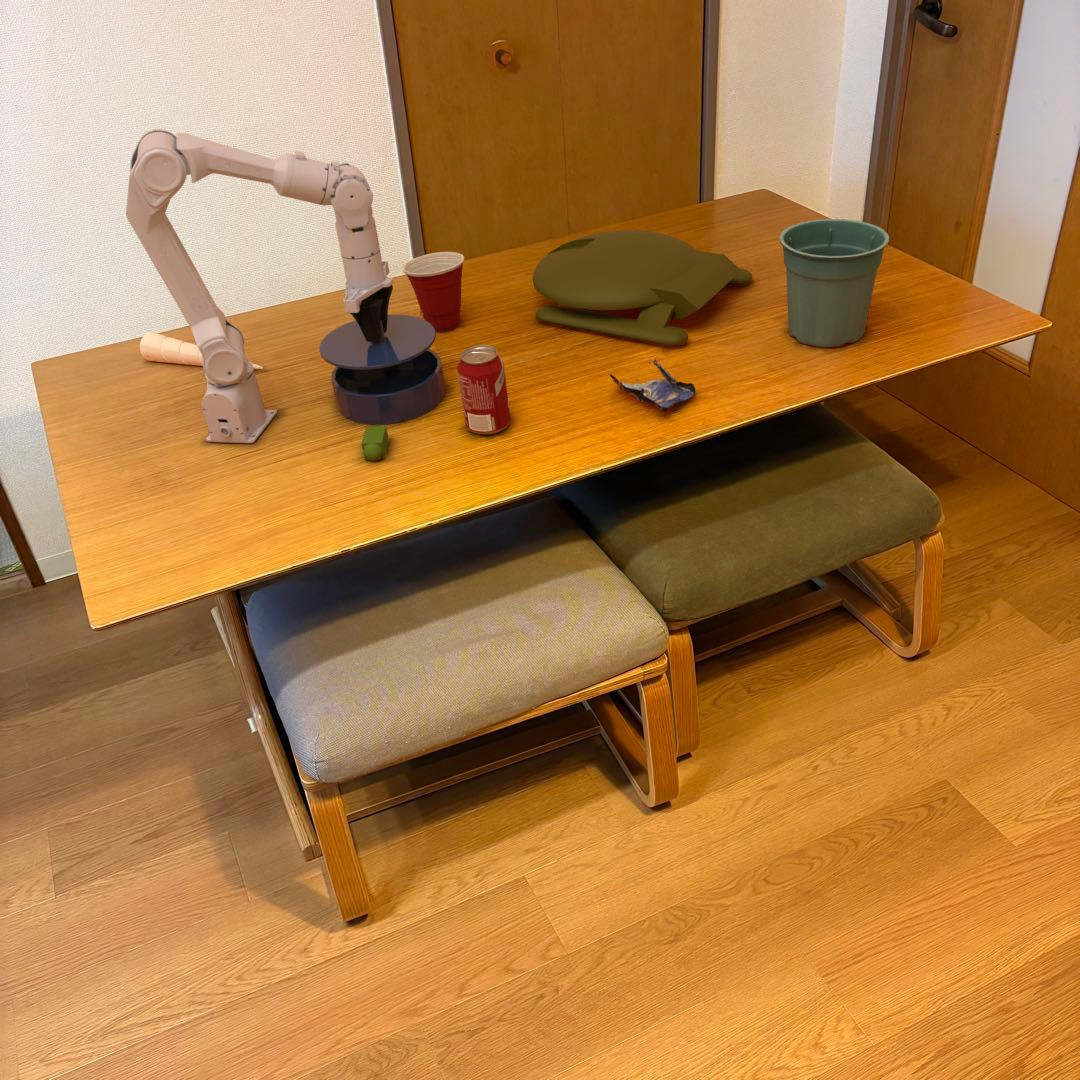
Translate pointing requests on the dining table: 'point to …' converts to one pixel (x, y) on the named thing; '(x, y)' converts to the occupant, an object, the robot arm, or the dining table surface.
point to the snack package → (660, 390)
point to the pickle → (375, 443)
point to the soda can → (483, 390)
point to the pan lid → (378, 344)
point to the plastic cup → (437, 287)
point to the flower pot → (830, 278)
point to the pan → (390, 390)
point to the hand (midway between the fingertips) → (376, 336)
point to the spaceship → (631, 284)
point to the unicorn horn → (172, 350)
